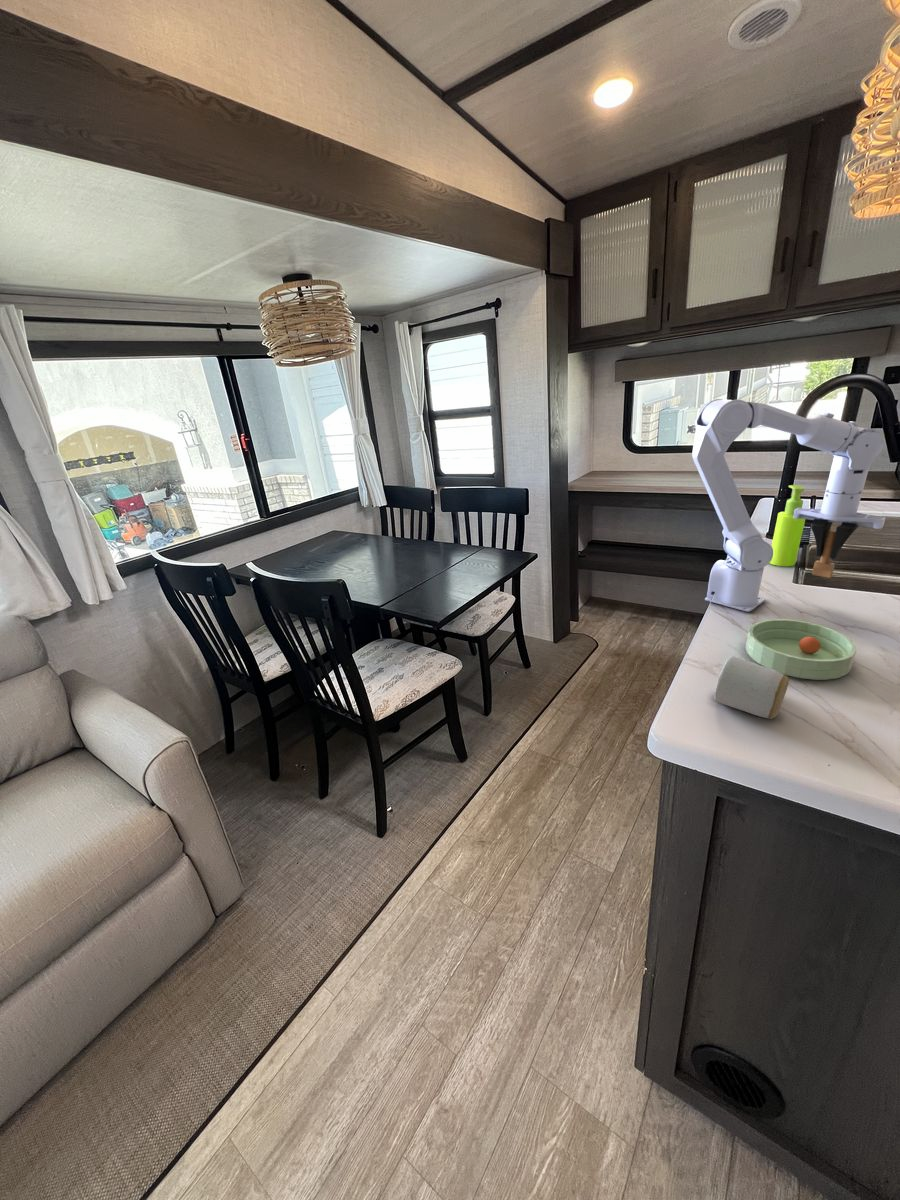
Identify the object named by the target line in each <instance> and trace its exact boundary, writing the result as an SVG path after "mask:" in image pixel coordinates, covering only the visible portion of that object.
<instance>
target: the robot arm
mask: <svg viewBox="0 0 900 1200" xmlns="http://www.w3.org/2000/svg"><path fill="white" fill-rule="evenodd" d="M834 417H835V414H834V413H830V412H823V413H822V414H820V413H817V414H813V415H810V416H809V417H804V416H801V415H797V414H795V413H792V412H790V411H786V410H784V409H781V408H778V407H776V406H772V405H769V404H766V403H761V402H755V401H745V400H742V399H733V400H732V399H725V398H715V399H711V400H710V401H709V402H707V403H706V404H705V405H704V406H703V407H702V409H701V410H700V411H699V414H698V416H697V418H696V419H695V421H694V424H695V425H694V427H695V433H694V439H693V445H692V452H691V457H692V460H693V463H694V465H695V467H696V469H697V471H698V474H699V476H700V478H701V480H702V483H703V485H704V488H705V489H706V491H707V494H708V496H709V498H710V501H711V503H712V505H713V507H714V510H715V512H716V514H717V517H718V519H719V521H720V523H721V526H722V528H723V529H722V531H721V533H722V537H723V551H724V552H725V553H726V554H727V555H726V559H724V560H723V559H719V560H717V561H716V562H715V563H714V564H713V566H712V568H711V571H710V574H709V580H708V585H707V593H706V597H705V598H704V601H706V602H710V603H713V604H717V605H720V606H723V607H728V608H731V609H736V610H739V611H743V612H746V613H750V612H752V611H753V610H754V609H756V608H758V606H760V605H761V604H763V603H764V602H765V598H762V597H759V593H760V589H761V584H762V579H763V574H764V569H765V567H766V566H768V565H769V564H770V563H769V562H770V561H771V560H772V557H773V548H772V547H771V546H772V544H770V543H769V542H767V541H766V540H765V539H764V538H763V536H762V534H761V533H760V531H759V530H758V528H757V527H756V526H755V525H754V524H753V522H752V519H751V518H750V515H749V512H748V510H747V507H746V506H745V503H744V501H743V499H742V496H741V493H740V491H739V489H738V486H737V484H736V482H735V479H734V477H733V475H732V472H731V470H730V468H729V465H728V463H727V460H726V458H725V454H726V452H727V451H728V449H729V447H730V446H731V444H733V442H734V441H736V439H738V437H739V436H740V435H741V434H743V433H744V431H746V429H754V428H758V427H759V426H763V427H766V428H770V429H773V430H777V431H780V432H783V433H784V432H785V433H789V434H792V435H795V438H796V441H797V443H798V444H799V445H802V446H805V447H808V448H811V449H814V450H818V451H821V452H824V453H827V454H830V455H832V456H833V459H832V463H831V467H830V472H829V476H828V478H827V483H826V488H825V491H824V496H823V500H822V503H821V508H808V507H807V508H804V507H802V508H797V509H795V510H794V515H793V518H794V519H799V518H801V519H805V520H810V521H812V523H810V529H811V531H812V533H813V537H814V540H815V547H816V553H815V554H816V557H821V555H822V551H823V547H824V543H825V539H826V535H827V531H828V530H829V529H832V525H833V524H834V523H835V524H839V525H837V526H836V528H835V530H836V536H835V542H834V546H833V549H832V551H831V555H830V558H832V559H833V560H834V559H837V557H838V555H839V553H840V551H841V549H842V548H843V546H844V545H845V543H846V542H847V540H848V539H849V538H850V537H851V535H853V533H854V532H855V531H856V530H857V529H858V528H859V527H868V528H873V529H876V530H881V529H882V528H883V527H884V524H885V521H886V516H879V515H872V514H868V513H861V512H858V509H859V505H860V502H861V499H862V496H863V492H864V489H865V488H864V487H865V484H866V482H867V481H866V480H867V477H868V473H869V470H870V467H872V464H873V461H874V459H876V457H877V456H878V455H879V454H880V453H881V452H882V451H883V449H884V448H885V447H884V446H885V443H883V437H882V434H880V432H879V431H878V430H876V429H874V428H868V427H867V428H866V427H860V426H859V427H858V425H859V423H858V422H857V421H852V420H851V421H848V422H846V421H843V420H839V419H837V418H834ZM832 559H831V560H832ZM714 595H715V597H714ZM713 597H714V599H713ZM712 599H713V601H712Z"/></svg>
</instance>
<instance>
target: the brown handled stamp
mask: <svg viewBox="0 0 900 1200" xmlns="http://www.w3.org/2000/svg"><path fill="white" fill-rule="evenodd" d="M835 536H836V529H834V528H833V529H832V528H830V529H829V530H828V531H827V535H826V539H825V543H824V547H823V551H822V555H821V556H820V559H819V560H815V562H814V564H813V567H812V572H811V575H812V576H818V577H822V578H828V579H830V578H832V577H833V574H834V569H835V565H836V563H835V562H832V558H830V555H831V551H832V549H833V546H834V542H835Z"/></svg>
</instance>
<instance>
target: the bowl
mask: <svg viewBox="0 0 900 1200" xmlns="http://www.w3.org/2000/svg"><path fill="white" fill-rule="evenodd" d="M805 637H813V638H816V639H817V640H818V641H819V643H820V649H819V650H818V651H817V652H816V653H812V654H808V653H805V652H803V651H802V650H801V649H800V647H799V642H800V641H801V639H803V638H805ZM745 651H746V654H747V655H748V656H749V657H750V658H751V659H752V660H753V661H755V662H756V663H757V664H758V665H761V666H763V667H767V668H770V669H773V670H775V671H778V672H780V673H782V674H784V675H786V676H787V677H788V676H789V677H791V678H797V679H803V680H817V681H819V680H820V681H821V680H833V679H834V680H835V679H839V678H842V677H844V676H846V675H848V674H849V672H850V671H851V670H852V667H853V664H854V661H855V657H856V654H857V646H856V644H855V643H854V642H853V640H851V639H850V638H849V637H848V636H846V635H845V634H843V633H841V632H839V631H837V630H836V629H833V628H830V627H827V626H824V625H821V624H818V623H815V622H809V621H806V620H805V621H804V620H798V619H788V618H772V619H764V620H760V621H757V622H754V623H752V625H751V626H749V629H748V632H747V637H746V642H745Z"/></svg>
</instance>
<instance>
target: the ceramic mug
mask: <svg viewBox="0 0 900 1200" xmlns="http://www.w3.org/2000/svg"><path fill="white" fill-rule="evenodd" d="M789 682H790V679H789V677H788V675H784V674H782V673H780V672H778V671H775V670H773V669H770V668H767V667H764V666H763V665H761V664H759V663H755V662H752V661H750V660H747V659H743V658H741V657H738V656H736V655H735V656H734V655H730V656H729V657H728V658H727V659H726V661H725V663H724V664H723V665H722V668H721V671H720V674H719V676H718V678H717V682H716V685H715V690H714V694H713V695H714V697H713V699H714V701H715V702H716V703H719V704H721V705H725V706H728V707H730V708H733V709H736V710H739V711H743V712H746V713H748V714H751V715H754V716H757V717H759V718H765V719H770V720H772V719H775V718H776V717H777V716H778V714H779V712H780V710H781V706H782V705H783V702H784V699H785V697H786V693H787V690H788V686H789V684H790V683H789Z"/></svg>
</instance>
